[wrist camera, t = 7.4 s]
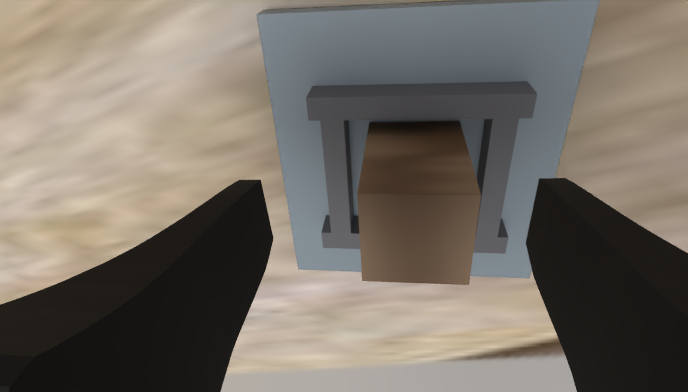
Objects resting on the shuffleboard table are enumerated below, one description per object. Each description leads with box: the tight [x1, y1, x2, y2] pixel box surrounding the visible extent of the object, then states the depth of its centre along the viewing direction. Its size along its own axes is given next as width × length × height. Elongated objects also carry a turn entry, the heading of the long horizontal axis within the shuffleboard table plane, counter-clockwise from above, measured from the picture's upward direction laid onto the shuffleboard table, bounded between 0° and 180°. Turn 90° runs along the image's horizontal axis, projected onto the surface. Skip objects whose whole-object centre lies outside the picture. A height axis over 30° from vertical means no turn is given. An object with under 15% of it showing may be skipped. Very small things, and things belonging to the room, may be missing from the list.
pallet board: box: [257, 0, 600, 278], centre depth 20 cm, size 13×14×2 cm
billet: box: [357, 121, 481, 285], centre depth 17 cm, size 4×4×6 cm
